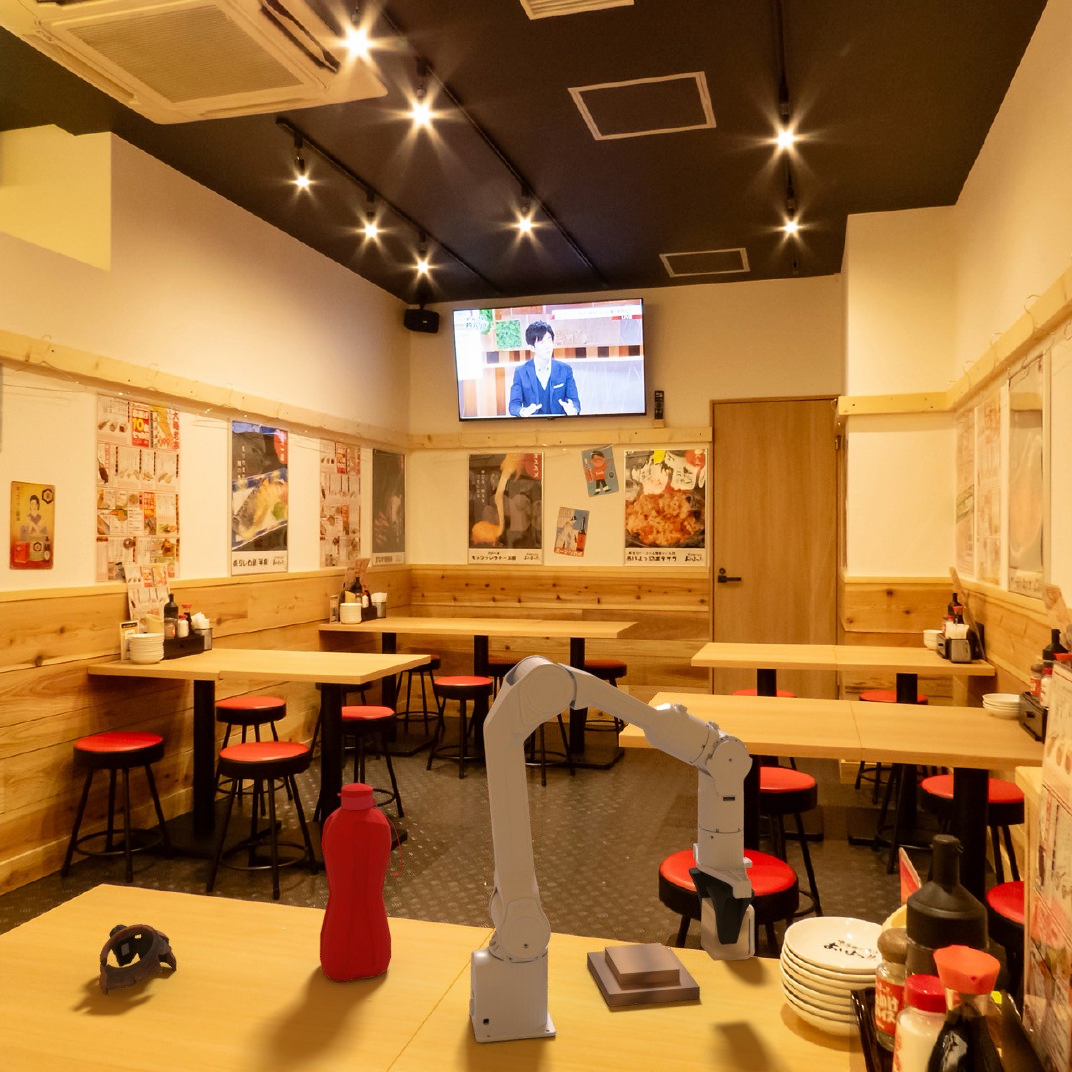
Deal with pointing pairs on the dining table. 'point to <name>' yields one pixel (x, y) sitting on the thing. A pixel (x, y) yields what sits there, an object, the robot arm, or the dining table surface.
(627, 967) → the walnut pedestal
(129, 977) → the dark brown ring housing
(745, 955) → the oak block
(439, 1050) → the dining table surface
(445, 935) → the dining table surface
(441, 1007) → the dining table surface
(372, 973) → the water bottle
